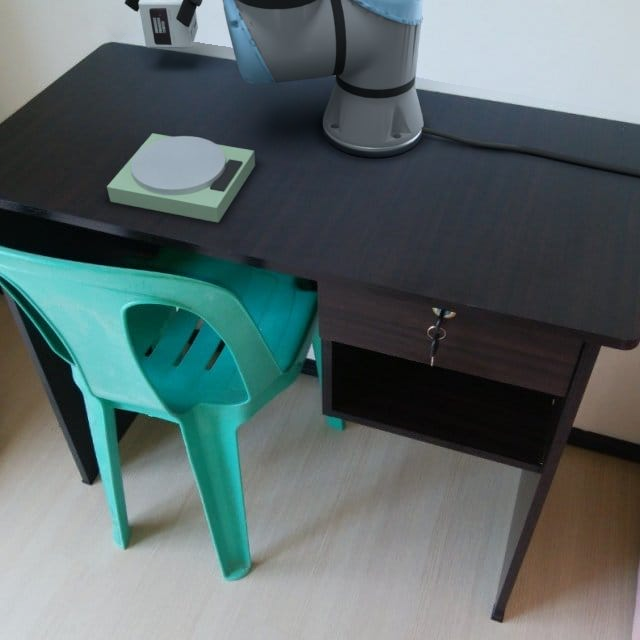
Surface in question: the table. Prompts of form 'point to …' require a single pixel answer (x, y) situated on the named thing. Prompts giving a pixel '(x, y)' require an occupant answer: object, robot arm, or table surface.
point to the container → (165, 24)
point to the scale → (183, 176)
